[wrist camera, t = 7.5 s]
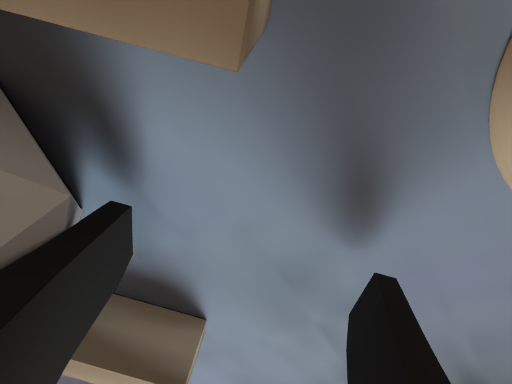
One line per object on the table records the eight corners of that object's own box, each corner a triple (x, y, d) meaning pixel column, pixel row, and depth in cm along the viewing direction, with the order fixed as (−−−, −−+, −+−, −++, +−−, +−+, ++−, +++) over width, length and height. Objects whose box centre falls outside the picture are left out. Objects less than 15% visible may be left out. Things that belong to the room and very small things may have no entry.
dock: (202, 338, 17) (180, 408, 14) (-71, 261, 17) (-137, 317, 15) (282, -50, 7) (254, -34, 5) (-320, -205, 8) (-609, -257, 5)
